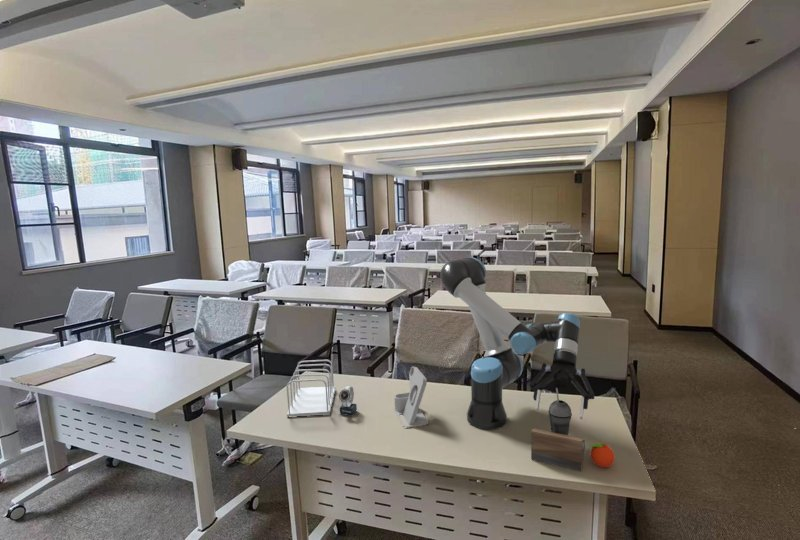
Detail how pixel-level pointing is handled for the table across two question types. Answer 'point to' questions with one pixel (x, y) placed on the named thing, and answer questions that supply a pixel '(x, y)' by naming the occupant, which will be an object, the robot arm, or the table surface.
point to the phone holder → (412, 400)
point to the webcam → (347, 401)
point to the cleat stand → (557, 449)
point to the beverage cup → (559, 416)
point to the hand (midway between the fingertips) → (558, 414)
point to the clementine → (602, 455)
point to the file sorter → (311, 393)
